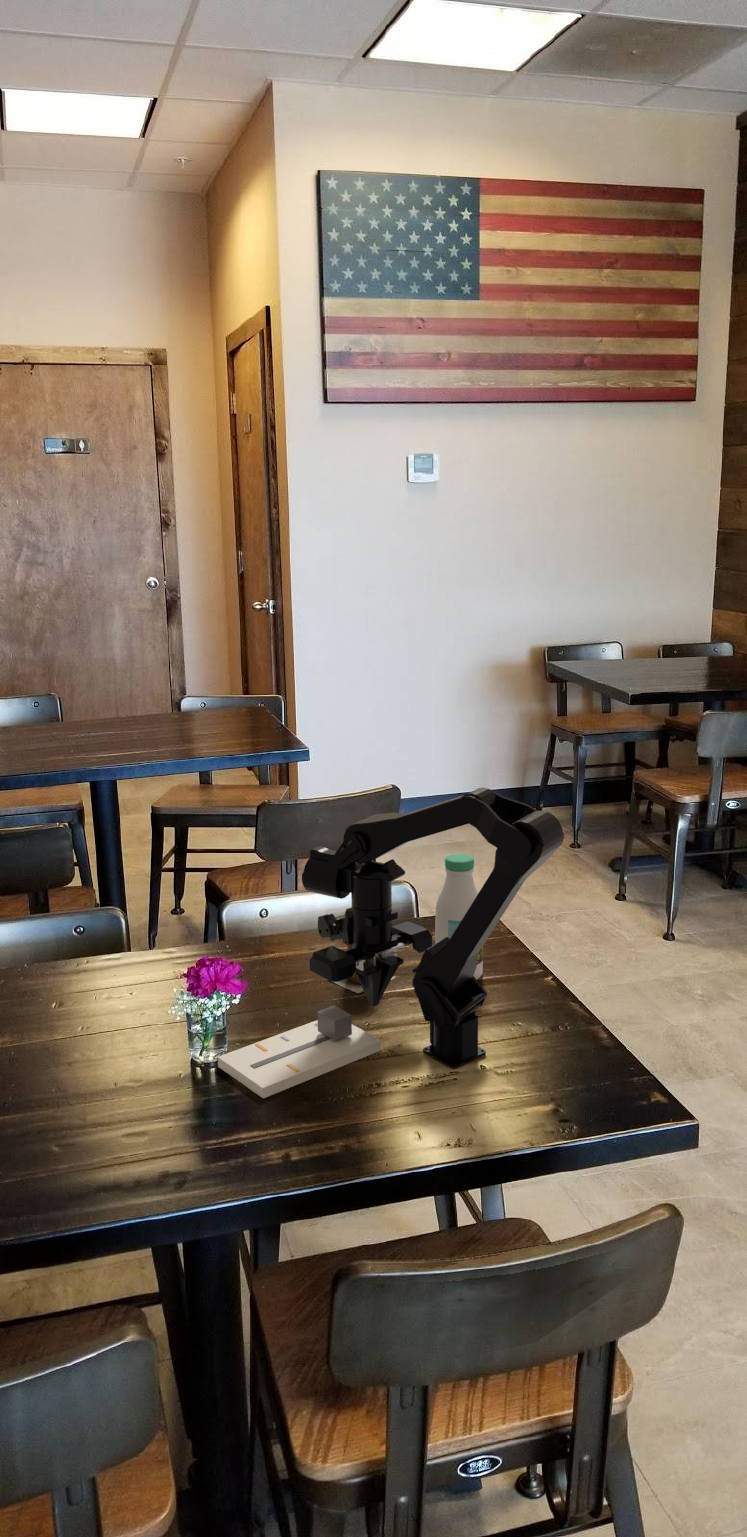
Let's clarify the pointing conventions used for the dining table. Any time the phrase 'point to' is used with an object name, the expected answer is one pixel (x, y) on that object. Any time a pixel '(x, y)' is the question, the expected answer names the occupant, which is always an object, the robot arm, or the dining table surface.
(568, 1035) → the dining table surface
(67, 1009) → the dining table surface
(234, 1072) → the console
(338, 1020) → the fader
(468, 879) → the milk bottle
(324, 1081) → the dining table surface
